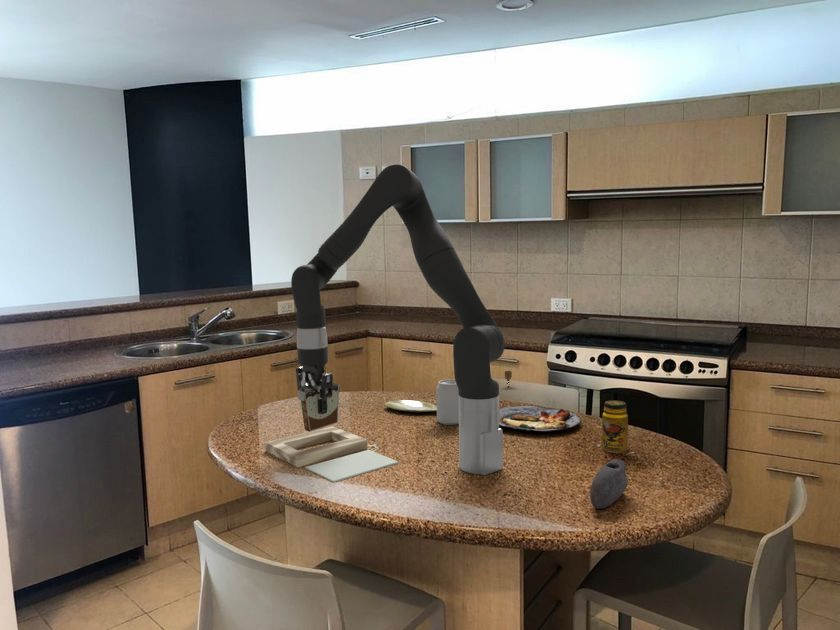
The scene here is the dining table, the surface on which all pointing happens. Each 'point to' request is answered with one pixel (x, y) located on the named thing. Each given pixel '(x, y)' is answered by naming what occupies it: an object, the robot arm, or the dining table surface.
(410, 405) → the oval serving platter
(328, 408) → the patterned half cylinder
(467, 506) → the dining table surface
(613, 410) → the condiment
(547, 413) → the food plate
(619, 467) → the perforated stone tool
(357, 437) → the frame
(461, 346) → the robot arm
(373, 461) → the mat
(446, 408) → the can
